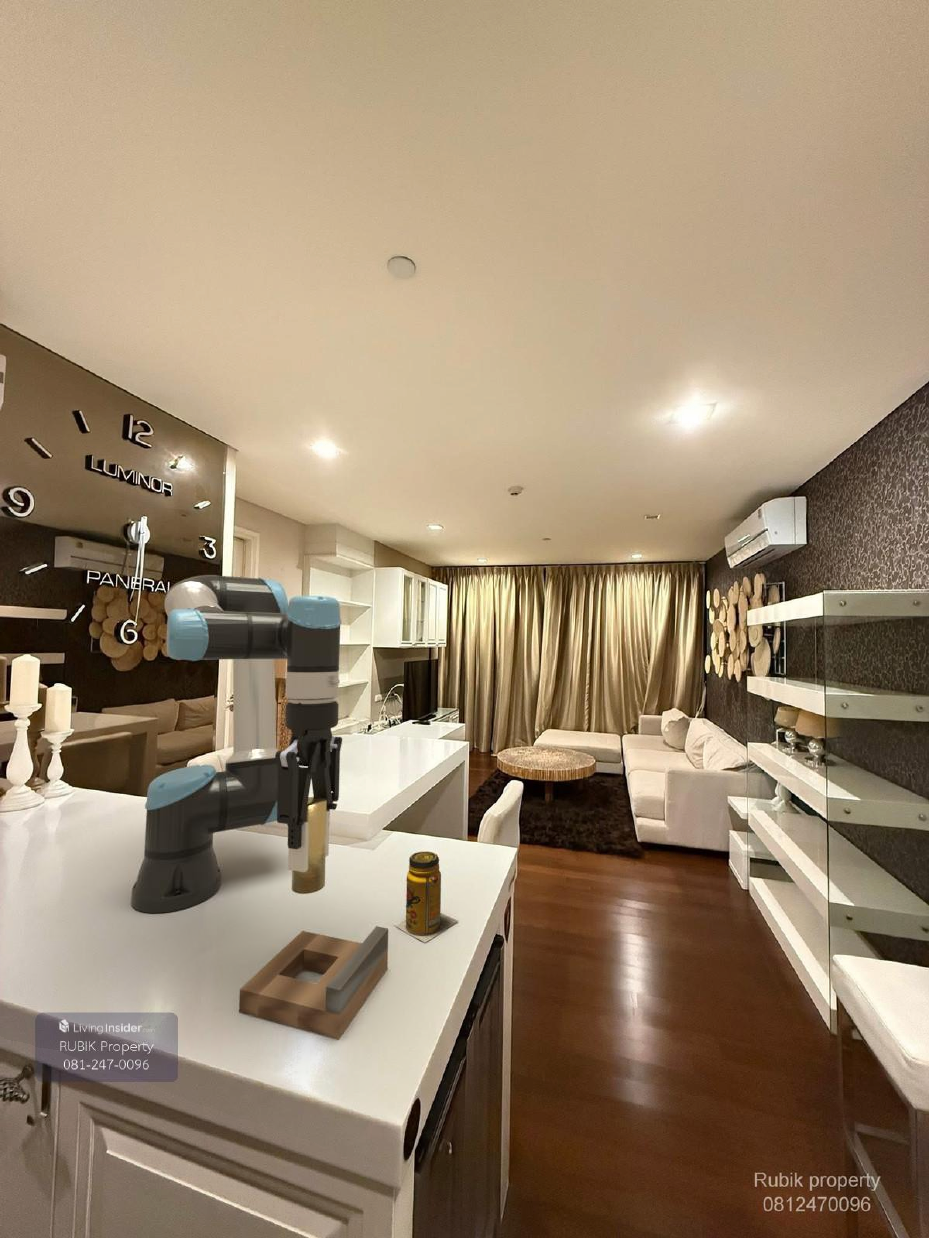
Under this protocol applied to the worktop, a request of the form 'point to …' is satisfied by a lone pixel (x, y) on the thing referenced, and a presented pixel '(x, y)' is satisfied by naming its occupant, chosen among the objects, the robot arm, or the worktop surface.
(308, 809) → the brass cylinder
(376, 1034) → the worktop surface
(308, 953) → the jig
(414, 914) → the condiment
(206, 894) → the robot arm
